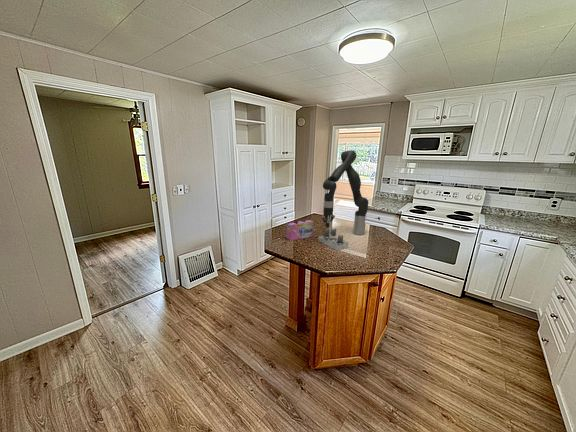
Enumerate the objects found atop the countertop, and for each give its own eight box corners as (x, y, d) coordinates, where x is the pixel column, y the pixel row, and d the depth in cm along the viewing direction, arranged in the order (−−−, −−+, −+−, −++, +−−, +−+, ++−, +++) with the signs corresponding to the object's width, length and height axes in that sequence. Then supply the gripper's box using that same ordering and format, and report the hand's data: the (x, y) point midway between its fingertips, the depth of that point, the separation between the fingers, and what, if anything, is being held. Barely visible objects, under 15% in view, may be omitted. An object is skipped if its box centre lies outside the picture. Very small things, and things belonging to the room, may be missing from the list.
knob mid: (333, 234, 185) (334, 227, 184) (337, 235, 182) (337, 229, 181) (329, 234, 183) (330, 228, 182) (333, 236, 180) (333, 230, 179)
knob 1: (326, 234, 193) (327, 228, 192) (330, 236, 190) (330, 230, 188) (323, 235, 191) (323, 229, 190) (326, 237, 188) (326, 230, 186)
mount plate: (329, 238, 197) (329, 233, 196) (348, 247, 178) (348, 242, 177) (318, 240, 191) (318, 236, 190) (336, 250, 173) (336, 245, 172)
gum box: (309, 233, 209) (310, 219, 205) (314, 236, 202) (315, 221, 198) (285, 237, 197) (286, 222, 194) (290, 240, 191) (290, 224, 187)
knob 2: (340, 240, 180) (340, 234, 178) (343, 242, 176) (344, 236, 175) (336, 241, 178) (336, 235, 176) (339, 243, 174) (340, 236, 173)
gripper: (331, 204, 190) (330, 224, 195) (318, 206, 184) (318, 227, 188) (338, 206, 184) (336, 227, 188) (325, 208, 177) (323, 229, 182)
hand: (327, 227), depth 188 cm, fingers closed
